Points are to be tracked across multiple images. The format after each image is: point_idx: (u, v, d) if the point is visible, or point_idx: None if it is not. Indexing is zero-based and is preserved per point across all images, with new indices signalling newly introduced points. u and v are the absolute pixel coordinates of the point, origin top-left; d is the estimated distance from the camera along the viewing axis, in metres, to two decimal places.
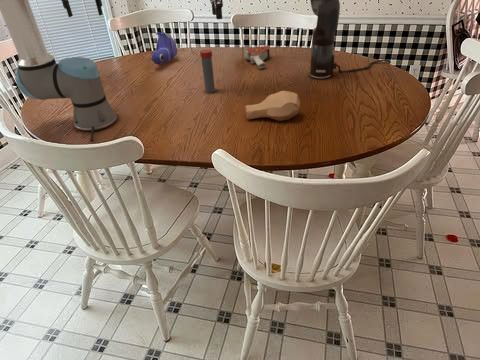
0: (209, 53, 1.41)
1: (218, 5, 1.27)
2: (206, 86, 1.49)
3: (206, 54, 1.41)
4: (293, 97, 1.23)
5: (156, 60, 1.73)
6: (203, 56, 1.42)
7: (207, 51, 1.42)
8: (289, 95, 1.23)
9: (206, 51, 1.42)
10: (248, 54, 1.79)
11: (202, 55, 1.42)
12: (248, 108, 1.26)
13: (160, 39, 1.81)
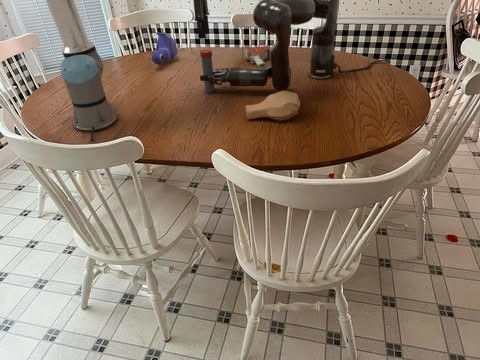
0: (209, 53, 1.41)
1: None
2: (206, 86, 1.49)
3: (206, 54, 1.41)
4: (293, 97, 1.23)
5: (156, 60, 1.73)
6: (203, 56, 1.42)
7: (207, 51, 1.42)
8: (289, 95, 1.23)
9: (206, 51, 1.42)
10: (248, 54, 1.79)
11: (202, 55, 1.42)
12: (248, 108, 1.26)
13: (160, 39, 1.81)
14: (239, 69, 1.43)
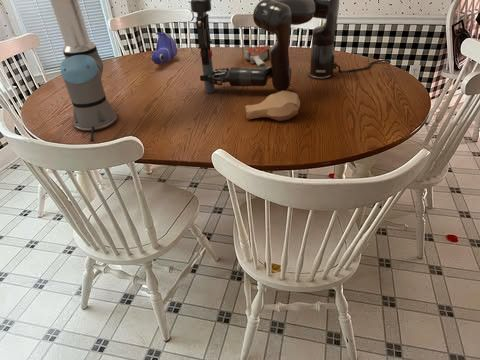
0: (209, 53, 1.41)
1: None
2: (206, 86, 1.49)
3: None
4: (293, 97, 1.23)
5: (156, 60, 1.73)
6: None
7: None
8: (289, 95, 1.23)
9: None
10: (248, 54, 1.79)
11: None
12: (248, 108, 1.26)
13: (160, 39, 1.81)
14: (239, 69, 1.43)
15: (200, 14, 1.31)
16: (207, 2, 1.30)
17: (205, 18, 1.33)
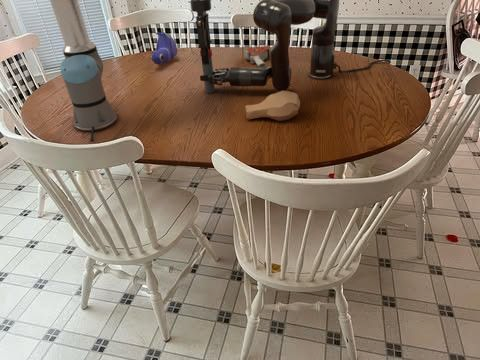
0: None
1: None
2: (206, 86, 1.49)
3: (211, 52, 1.42)
4: (293, 97, 1.23)
5: (156, 60, 1.73)
6: (210, 54, 1.42)
7: None
8: (289, 95, 1.23)
9: None
10: (248, 54, 1.79)
11: (209, 54, 1.41)
12: (248, 108, 1.26)
13: (160, 39, 1.81)
14: (239, 69, 1.43)
15: (200, 13, 1.31)
16: (207, 1, 1.30)
17: (205, 17, 1.33)
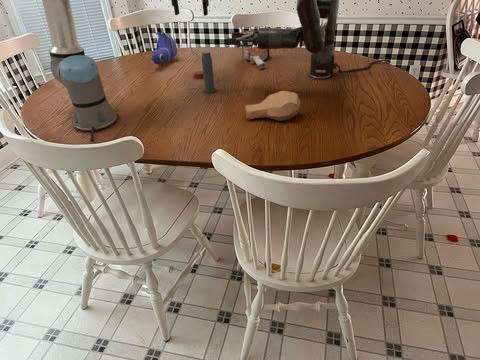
0: None
1: None
2: (206, 86, 1.49)
3: None
4: (293, 97, 1.23)
5: (156, 60, 1.73)
6: None
7: (198, 71, 1.67)
8: (289, 95, 1.23)
9: (199, 72, 1.67)
10: (248, 54, 1.79)
11: None
12: (248, 108, 1.26)
13: (160, 39, 1.81)
14: (268, 29, 1.31)
15: None
16: None
17: None
